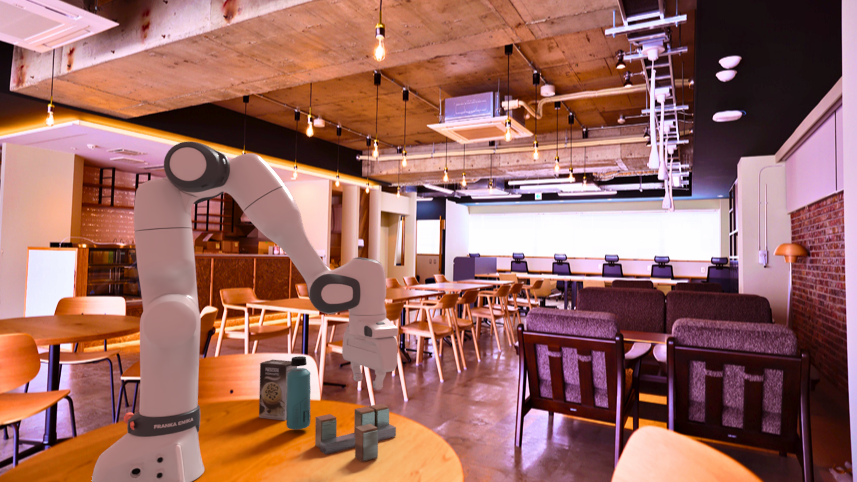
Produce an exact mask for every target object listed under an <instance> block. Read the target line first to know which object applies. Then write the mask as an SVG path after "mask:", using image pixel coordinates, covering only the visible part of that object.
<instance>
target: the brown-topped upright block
mask: <svg viewBox="0 0 857 482" xmlns="http://www.w3.org/2000/svg"><path fill="white" fill-rule="evenodd" d="M378 453H379V441H378V430H377V427H375V426H373V425H372V424H367V425H363V426H358V427H355V447H354V458H356V459H357V460H358V461H360V462H361V463H364V462H368V461H371V460H374V459H378V457H379V454H378Z"/></svg>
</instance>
